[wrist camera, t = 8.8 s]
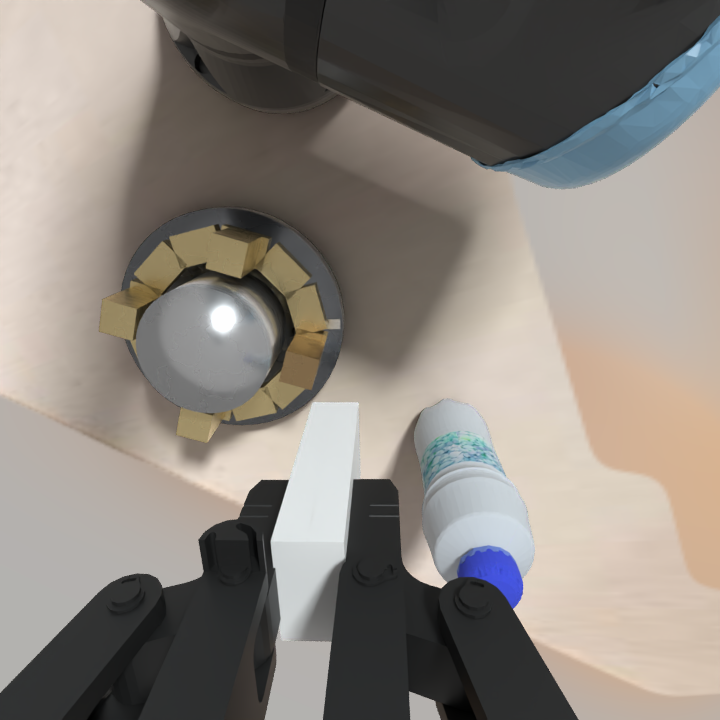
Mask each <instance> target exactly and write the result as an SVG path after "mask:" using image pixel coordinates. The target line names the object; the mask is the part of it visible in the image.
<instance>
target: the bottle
mask: <svg viewBox="0 0 720 720" xmlns="http://www.w3.org/2000/svg"><path fill="white" fill-rule="evenodd" d="M414 443H415V448H416V453H417V456H418V460H419V463H420V467H421V475H422V482H423V489H424V496H425V497H424V500H423V504H422V517H423V520H422V527H423V532H424V535H425V538H426V540H427V542H428V545H429V548H430V551H431V554H432V557H433V561H434V564H435V566H436V568H437V570H438V572H439V573H440V575H441V576H442V577H443V579H444V580H446V581H447V582H449V581H451V580H453V579H456V578H459V577H475V578H479V579H483V580H486V581H488V582H489V583H491V584H493V585H494V586H496V587H497V588H498V589H499V590H500V591H501V592H502V593H503V594H504V596H505V597H506V599H507V600H508V602H509V604H510V605H511V607H512V609H513V608H514V607H515V606H516V605H517V604H518V602H519V601H520V599H521V596H522V594H523V581H522V578H523V577H524V576H525V575H526V574H527V572H528V571H529V569H530V568H531V566H532V563H533V560H534V552H535V547H534V540H533V536H532V532H531V528H530V524H529V519H528V511H527V508H526V505H525V503H524V501H523V499H522V498H521V496H520V494H519V492H518V490H517V488H516V487H515V486H514V484H513V483H512V482H511V481H510V480H509V479H508V478H507V477H506V475H505V473H504V470H503V468H502V466H501V463H500V461H499V459H498V457H497V454H496V452H495V450H494V447H493V444H492V440H491V436H490V433H489V430H488V427H487V425H486V423H485V421H484V419H483V418H482V416H481V415H480V414H479V412H478V411H477V410H476V409H475V408H474V407H473V406H472V405H470V404H468V403H460V402H456V401H453V400H451V399H448V398H447V399H443V400H441V401H440V402H439V403H438V404H436V405H434V406H432V407H430V408H425V409H424V410H423V411H422V412H421V414H420V417H419V419H418V422H417V425H416V428H415V431H414Z"/></svg>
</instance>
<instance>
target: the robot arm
mask: <svg viewBox="0 0 720 720" xmlns="http://www.w3.org/2000/svg"><path fill="white" fill-rule="evenodd" d="M141 1H142V2H143V3H145V4H146V5H147V6H149V7H150V8H151V9H153V10H154V11H155V12H157V13H158V14H159V15H161V16H162V17H163V20H164V23H165V25H166V27H167V30H168V32H169V34H170V36H171V38H172V40H173V42H174V44H175V45H176V47H177V49H178V50H179V52H180V53H181V55H182V56H183V58H184V59H185V60H186V62H187V63H188V64H189V65H190V67H191V68H192V69H193V70H194V71H195V72H196V73H197V74H198V75H199V76H200V77H201V78H202V79H203V80H204V81H205V82H206V83H207V84H208V85H209V86H211V87H212V88H213V89H215V90H216V91H218V92H219V93H221V94H222V95H224V96H226V97H227V98H229V99H231V100H233V101H235V102H237V103H238V104H241V105H243V106H245V107H248V108H251V109H254V110H257V111H261V112H267V113H275V114H286V113H296V112H301V111H305V110H308V109H312V108H314V107H317V106H319V105H321V104H323V103H325V102H327V101H329V100H330V99H332V98H334V97H335V96H336V95H338V94H339V95H341V96H343V97H345V98H347V99H349V100H351V101H354V102H356V103H358V104H360V105H362V106H364V107H366V108H368V109H370V110H373V111H375V112H377V113H379V114H381V115H383V116H385V117H387V118H389V119H392V120H394V121H396V122H398V123H400V124H402V125H404V126H406V127H408V128H411V129H413V130H415V131H417V132H419V133H421V134H423V135H425V136H428V137H430V138H432V139H434V140H436V141H438V142H440V143H442V144H444V145H447V146H449V147H451V148H453V149H455V150H457V151H459V152H461V153H463V154H466V155H468V156H470V157H471V159H472V160H473V161H474V162H475V163H476V164H478V165H479V166H481V167H483V168H485V169H492V170H494V171H502V172H508V173H510V174H513V175H515V176H518V177H520V178H523V179H525V180H528V181H530V182H532V183H535V184H537V185H540V186H542V187H546V188H555V189H571V188H577V187H581V186H585V185H589V184H592V183H595V182H597V181H600V180H602V179H605V178H607V177H609V176H611V175H613V174H615V173H616V172H618V171H620V170H622V169H624V168H625V167H627V166H629V165H630V164H632V163H633V162H635V161H636V160H638V159H639V158H641V157H642V156H644V155H645V154H646V153H648V152H649V151H650V150H651V149H653V148H654V147H656V146H657V145H658V144H660V143H661V142H662V141H663V140H665V139H666V138H667V137H668V136H669V135H671V134H672V133H673V132H674V131H675V130H676V129H677V128H679V127H680V126H681V125H682V124H683V123H684V122H685V121H686V120H687V119H689V118H690V117H691V116H692V115H693V114H694V113H695V112H696V111H697V110H698V109H699V108H700V107H701V106H702V105H703V104H704V103H705V102H706V101H707V100H708V99H709V98H710V97H711V96H712V95H713V94H714V92H715V91H716V90H717V89H718V88H719V87H720V0H141ZM199 546H200V552H201V558H202V564H203V570H204V572H203V575H202V577H200V578H198V579H196V580H193V581H190V582H187V583H184V584H179V585H175V586H171V587H166V588H162V585H161V583H160V582H159V580H158V579H157V578H156V577H153V576H151V575H149V574H133V575H129V576H124V577H122V578H120V579H118V580H116V581H113V582H111V583H110V584H109V585H107V586H106V587H105V588H103V589H102V590H101V591H100V592H99V593H98V594H97V595H96V596H95V597H94V598H93V599H92V600H91V601H90V602H89V603H88V604H87V605H86V606H85V607H84V608H83V609H82V610H81V611H80V612H79V613H78V614H77V615H76V616H75V617H74V618H73V619H72V620H71V621H70V622H69V623H68V624H67V625H66V626H65V627H64V628H63V629H62V630H61V631H60V632H59V634H58V635H57V636H56V637H55V638H54V639H53V640H52V641H51V642H50V643H49V644H48V645H47V646H46V647H45V648H44V649H43V650H42V651H41V652H40V653H39V654H38V655H37V656H36V657H35V658H34V659H33V660H32V661H31V662H30V663H29V664H28V665H27V666H26V667H25V668H24V669H23V670H22V671H21V672H20V673H19V674H18V676H16V677H15V679H13V681H12V682H11V683H10V684H9V685H8V686H7V687H6V688H5V689H4V690H3V691H2V692H1V693H0V720H264V719H265V714H266V710H267V705H268V700H269V695H270V690H271V686H272V682H273V677H274V672H275V668H276V648H275V641H276V637H277V633H278V628H279V627H280V635H281V640H284V641H287V640H288V641H331V642H332V644H331V652H330V661H329V670H328V679H327V688H326V697H325V706H324V715H323V720H410V707H409V691H410V692H413V693H416V694H418V695H421V696H424V697H427V698H429V699H432V700H434V701H436V706H437V709H438V712H439V715H440V718H441V720H578V718H577V716H576V715H575V713H574V711H573V710H572V708H571V707H570V705H569V703H568V701H567V700H566V698H565V696H564V695H563V693H562V691H561V689H560V688H559V686H558V684H557V683H556V681H555V679H554V678H553V676H552V674H551V673H550V671H549V669H548V668H547V666H546V664H545V663H544V661H543V659H542V658H541V656H540V654H539V653H538V651H537V649H536V647H535V646H534V644H533V642H532V641H531V639H530V637H529V636H528V634H527V632H526V631H525V629H524V627H523V625H522V624H521V622H520V620H519V619H518V617H517V615H516V614H515V612H514V610H513V609H512V607H511V605H510V604H509V602H508V600H507V599H506V597H505V596H504V594H503V593H502V592H501V591H500V590H499V589H498V588H497V587H496V586H494V585H493V584H491V583H489V582H488V581H486V580H483V579H479V578H475V577H459V578H456V579H453V580H451V581H449V582H448V583H447V584H446V585H445V586H443V587H442V589H441V588H438V587H434V586H431V585H428V584H425V583H423V582H420V581H419V580H417V579H416V578H414V577H412V576H411V575H410V574H409V572H408V571H407V570H406V569H405V567H404V565H403V563H402V558H401V542H400V521H399V500H398V490H397V489H396V487H395V486H394V484H393V483H392V482H391V480H390V479H360V437H359V402H313V403H312V406H311V410H310V413H309V416H308V419H307V423H306V426H305V429H304V433H303V436H302V439H301V443H300V446H299V449H298V452H297V456H296V459H295V462H294V466H293V469H292V472H291V475H290V479H289V480H261V481H260V482H259V483H258V484H257V485H256V486H255V487H253V488H252V489H251V490H250V491H249V494H248V496H247V498H246V501H245V503H244V507H243V508H242V510H241V513H240V517H239V518H238V519H237V520H228V521H225V522H222V523H219V524H216V525H214V526H213V527H211V528H210V529H208V530H207V531H205V533H203V535H202V536H201V537H200V539H199Z"/></svg>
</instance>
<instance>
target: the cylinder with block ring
mask: <svg viewBox="0 0 720 720" xmlns="http://www.w3.org/2000/svg"><path fill="white" fill-rule="evenodd" d="M169 239H170V240H169ZM169 239H168V240H164V241H162V242H161V243H160V244H159V245H158V246H157V248H156V249H155V250H154V251H153V252H152V253H151V254H150V256H149V257H148V258H147V259H146V260H145V261H144V263H143V264H142V265H141V266H140V267H139V268H138V269H137V271H136V272H135V273H134V275H135V276H137V277H138V278H136V279H134V280H131V282H130V288H128V289H125V290H123V291H121V292H118V293H116V294H114V295H111V296H109V297H107V298H104V299H102V307H101V316H100V325H99V332H102V333H106V334H109V335H113V336H117V337H120V338H124V339H127V340H130V341H131V344H132V346H133V348H134V351H135V353H136V356H137V351H136V334H137V329H138V326H139V322H140V320H141V318H142V316H143V314H144V313H145V311H146V310H147V308H148V307H149V306H150V305H151V304H152V303H153V302H154V301H155V300H156V299H158V298H159V297H160V296H162V295H164V294H166V293H167V290H168V289H169V288H170V287H171V286H172V285H173V284H174V283H175V282H176V281H177V279H178V278H179V277H180V276H181V275H182V274H183V273H184V272H185V271H186V270H187V268H188V267H190V266H194V265H198V264H202V263H205V262H207V264H206V269H209V270H213V271H216V272H220V273H223V274H227V275H230V276H234V277H237V278H242V277H244V276H245V275H247V274H248V273H249V272H251V271H252V270H254V269H258V270H259V271H260V272H261V273H262V274H263V275H264V276H265V277H266V278H267V279H268V280H269V281H270V282H271V283H272V284H273V285H274V286H275V287H276V288H277V289H278V290H279V291H280V292H281V293H282V294H283V295H284V296H285V297H286V300H287V304H288V307H289V310H290V313H291V317H292V320H293V323H294V327H295V330H296V334H295V336H294V338H293V340H292V342H291V343H290V345H289V347H288V349H287V351H286V355H285V359H284V363H283V367H282V368H281V369H280V370H279V371H278V372H277V373H276V374H275V375H274V376H272V377H271V378H270V379H269V380H268V381H267V382H264V383H262V385H261V387H260V388H259V390H258V391H257V392H256V393H255V395H254V396H253V397H252V398H251V399H249V400H248V401H247V402H246V403H244V404H242V405H241V406H239V407H237V408H235V409H232V410H229V411H225V412H220V413H200V412H194V411H191V410H187V409H184V408H182V407H181V409H180V415H179V420H178V426H177V431H176V435H178V436H182V437H186V438H189V439H193V440H197V441H201V442H205V443H208V441H209V440H210V438H211V436H212V435H213V433H214V432H215V430H216V429H217V427H218V426H219V424H220V423H221V421H222V420H227V421H230V419H231V417H232V416H233V414H234V416H235V419H236V421H240V420H245V419H250V418H254V417H259V416H264V415H268V414H273V413H277V410H278V408H279V407H280V408H281V409H284V408H285V407H286V406H287V405H288V404H289V403H290V402H292V401H293V400H294V399H295V398H296V397H297V396H298V395H299V394H300V393H301V392H303V391H304V390H305V389H308V390H312V386H313V383H314V380H315V377H316V375H317V372H318V368H319V365H320V361H321V357H322V354H323V350H324V347H325V343H326V339H327V336H328V332H327V331H323V330H324V329H327V327H328V321H327V318H326V314H325V310H324V307H323V303H322V300H321V296H320V292H319V289H318V285H317V282H315V283H311V284H307V285H304V284H305V283H306V282H307V281H308V280H309V279H310V278H311V277H312V274H311V273H310V272H309V271H308V270H307V269H306V268H305V267H304V266H303V265H302V264H301V263H300V262H299V261H298V260H297V259H296V258H295V257H294V256H293V255H292V254H291V253H290V252H289V251H288V250H287V249H286V248H285V247H284V246H283V245H282V244H281V243H280V242H278V243H276V244H275V245H274V246H273V247H272V248H271V249H270V245H271V241H272V237H269V236H266V235H263V234H259V233H256V232H252V231H249V230H246V229H242V228H239V227H235V226H232V225H229V224H225V225H222V228H221V229H220V226H219V224H216V225H212V226H208V227H204V228H201V229H197V230H193V231H189V232H185V233H182V234H178V235H174V236H170V237H169ZM137 358H138V356H137Z"/></svg>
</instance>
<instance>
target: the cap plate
mask: <svg viewBox="0 0 720 720" xmlns="http://www.w3.org/2000/svg"><path fill="white" fill-rule="evenodd" d="M216 224H219V226H220V229H221V228H222V225H225V224H229V225H232V226H235V227H239V228H242V229H246V230H249V231H252V232H256V233H259V234H263V235H266V236H269V237H272V241H271V245H270V249H271V248H272V247H273V246H274V245H275V244H276V243H278V242H280V243H281V244H282V245H283V246H284V247H285V248H286V249H287V250H288V251H289V252H290V253H291V254H292V255H293V256H294V257H295V258H296V259H297V260H298V261H299V262H300V263H301V264H302V265H303V266H304V267H305V268H306V269H307V270H308V271H309V272H310V273H311V274H312V277H311V278H310V279H309V280H308V281H307V282H306V283H305V284H304V285H307V284H311V283H315V282H317V285H318V289H319V292H320V296H321V300H322V303H323V307H324V310H325V314H326V318H327V321H328V327H327V329H324V330H323V331H327V332H328V336H327V339H326V343H325V347H324V350H323V354H322V357H321V361H320V365H319V368H318V372H317V375H316V377H315V380H314V383H313V386H312V390H308V389H305V390H304V391H303V392H301V393H300V394H299V395H298V396H297V397H296V398H295V399H294V400H293V401H292V402H290V403H289V404H288V405H287V406H286V407H285V408H284V409H281V408H280V407H279V408H278V410H277V413H273V414H268V415H264V416H259V417H254V418H250V419H245V420H240V421H236V419H235V416H234V414H233V416H232V417H231V419H230V421H227V420H222V421H221V423H224V424H233V425H251V424H259V423H265V422H269V421H273V420H276V419H279V418H282V417H284V416H286V415H288V414H290V413H292V412H294V411H296V410H297V409H299V408H300V407H302V406H304V405H305V404H306V403H307V402H308V401H310V400H311V399H312V398H313V397H314V396H315V395H316V394H317V393H318V392H319V390H320V389H321V388H322V387H323V386H324V384H325V383H326V381H327V380H328V378H329V377H330V375H331V373H332V371H333V369H334V367H335V364H336V361H337V358H338V355H339V352H340V348H341V344H342V338H343V332H344V310H343V302H342V298H341V293H340V289H339V287H338V284H337V281H336V279H335V276H334V274H333V272H332V270H331V269H330V267H329V265H328V263H327V262H326V260H325V259H324V257H323V256H322V255H321V253H320V252H319V251H318V249H317V248H316V247H315V246H314V245H313V244H312V243H311V242H310V241H309V240H308V239H307V238H306V237H305V236H304V235H302V234H301V233H300V232H299V231H298V230H296V229H295V228H293V227H292V226H290V225H288V224H287V223H285V222H284V221H282V220H280V219H277V218H275V217H273V216H271V215H269V214H265V213H262V212H259V211H256V210H251V209H246V208H240V207H218V208H209V209H203V210H199V211H194V212H190V213H187V214H184V215H182V216H179V217H177V218H174V219H172V220H171V221H169V222H167V223H165V224H164V225H162V226H161V227H159V228H158V229H157V230H156V231H154V232H153V233H152V234H151V235H150V236H149V237H148V238H147V239H146V240H145V241H144V242H143V243H142V244H141V245H140V247H139V248H138V250H137V251H136V253H135V254H134V256H133V257H132V259H131V261H130V264H129V266H128V268H127V270H126V273H125V276H124V280H123V283H122V289H121V291H123V290H125V289H128V288H130V282H131V280H134V279H136V278H138V277H137V276H135V275H134V273H135V272H136V271H137V269H138V268H139V267H140V266H141V265H142V264H143V263H144V261H145V260H146V259H147V258H148V257H149V256H150V254H151V253H152V252H153V251H154V250H155V249H156V248H157V246H158V245H159V244H160V243H161V242H162V241H164V240H168V239H169V237H170V236H174V235H178V234H182V233H185V232H189V231H193V230H197V229H201V228H204V227H208V226H212V225H216ZM169 240H170V239H169ZM206 264H207V262H205V263H202V264H198V265H194V266H190V267H188V268H187V270H186V271H185V272H184V273H183V274H182V275H181V276H180V277H179V278H178V279H177V281H176V282H175V283H174V284H173V285H172V286H171V287H170V288H169V289H168V290H167V293H166V294H164V295H162V296H160V297H159V298H158V299H156V300H155V301H154V302H153V303H152V304H151V305H150V306H149V307H148V308H147V310H146V311H145V313H144V314H143V316H142V318H141V320H140V322H139V326H138V329H137V334H136V351H137V356H138V358H137V356H136V353H135V351H134V348H133V346H132V344H131V341H130V340H127V339H125V340H126V343H127V346H128V348H129V351H130V353H131V355H132V357H133V359H134V361H135V363H136V364H137V366H138V367H139V369H140V370H141V372H142V373H143V375H144V376H145V377H146V379H147V380H148V381H149V382H150V384H151V385H152V386H153V387H154V388H155V389H156V390H157V391H158V392H159V393H160V394H161V395H162V396H163V397H165V398H166V399H167V400H169V401H170V402H172V403H174V404H175V405H177V406H178V407H180V408H181V407H182V408H184V409H187V410H191V411H194V412H200V413H220V412H225V411H229V410H232V409H235V408H237V407H239V406H241V405H242V404H244V403H246V402H247V401H248V400H249V399H251V398H252V397H253V396H254V395H255V393H256V392H257V391H258V390H259V388H260V387H261V385H262V383H264V382H267V381H268V380H269V379H270V378H271V377H272V376H274V375H275V374H276V373H277V372H278V371H279V370H280V369H281V368H282V367H283V363H284V359H285V355H286V351H287V349H288V347H289V345H290V343H291V342H292V340H293V338H294V336H295V334H296V330H295V327H294V323H293V320H292V317H291V313H290V310H289V307H288V304H287V300H286V297H285V296H284V295H283V294H282V293H281V292H280V291H279V290H278V289H277V288H276V287H275V286H274V285H273V284H272V283H271V282H270V281H269V280H268V279H267V278H266V277H265V276H264V275H263V274H262V273H261V272H260V271H259V270H258V269H254V270H252V271H251V272H249V273H248V274H247V275H245V276H244V277H242V278H237V277H234V276H230V275H227V274H223V273H220V272H216V271H213V270H209V269H206Z"/></svg>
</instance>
